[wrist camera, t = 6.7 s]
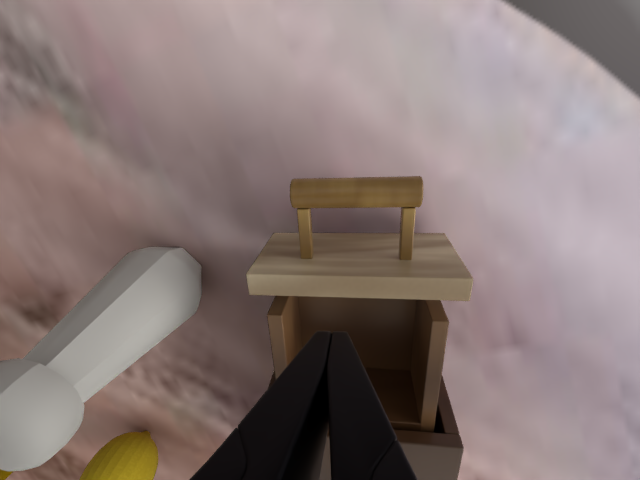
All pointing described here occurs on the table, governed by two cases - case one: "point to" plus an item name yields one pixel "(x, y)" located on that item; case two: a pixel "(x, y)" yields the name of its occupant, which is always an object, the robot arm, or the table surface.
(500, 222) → the table surface
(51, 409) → the white bowling pin
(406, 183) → the drawer
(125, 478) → the lemon
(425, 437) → the cabinet
